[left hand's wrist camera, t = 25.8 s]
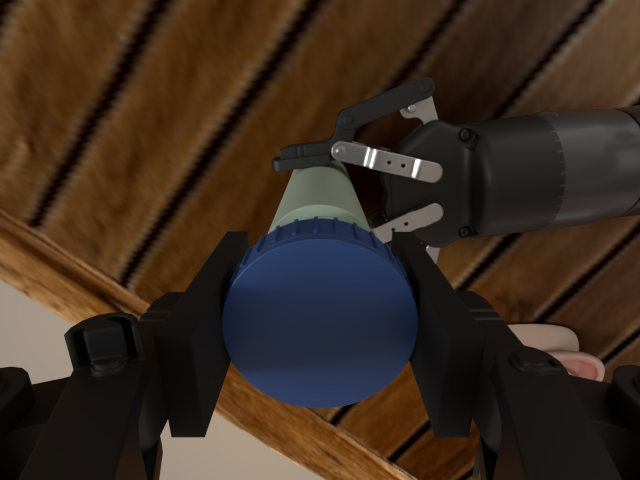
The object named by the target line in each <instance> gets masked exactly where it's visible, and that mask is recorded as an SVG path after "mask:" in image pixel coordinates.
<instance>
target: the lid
mask: <svg viewBox="0 0 640 480" xmlns="http://www.w3.org/2000/svg"><path fill="white" fill-rule="evenodd" d="M229 283H230V287H229V289H228V291H227V293H226V295H225V297H224V301H225V302H224V306H223V311H222V332H223V340H224V344H225V347H226V350H227V352H228V355H229V357H230V359H231V360H232V362H233V364H234V365H235V367H236V368H237V370H238V371H239V372H240V373H241V375H242V376H243V377H244V378H245V379H246V380H247V381H248V382H249V383H250V384H252V385H253V386H254V387H256V388H257V389H258V390H260V391H261V392H263V393H265V394H266V395H268V396H270V397H272V398H274V399H277V400H279V401H282V402H285V403H288V404H291V405H296V406H301V407H308V408H332V407H340V406H344V405H349V404H352V403H355V402H358V401H361V400H363V399H366V398H368V397H370V396H372V395H374V394H375V393H377V392H379V391H380V390H382V389H383V388H384V387H386V386H387V385H388V384H390V383H391V382H392V381H393V380H394V379H395V378H396V377H397V376H398V375H399V374H400V372H401V371H402V370H403V368H404V367H405V366H406V364H407V362H408V361H409V359H410V357H411V355H412V352H413V350H414V348H415V344H416V340H417V334H418V323H419V320H418V310H417V306H416V302H415V299H414V296H413V294H415V292H414V290H413V288H412V286H411V284H410V282H409V280H408V277H407V274H406V272H405V270H404V268H403V266H402V264H401V262H400V260H399V258H398V257H397V256H396V257H394V255H393V254H392V252H391V250H390V248H389V246H388V244H387V243H386V242H385V243H384V244H383V243H382V242H381V241H380V240H379V239H378V238H377V237H375V234H374V232H373V231H370V232H368V231H366V230H364V229H363V228H361V227H359V226H357V223H355V222H353V224H351V223H348V222H344V221H340V220H338V218H336V217H334V219H326V218H318V216H314V218H313V219H306V220H300V221H299V220H298V219H295V220H294V222H292V223H289V224H287V225H284V226H282V227H280V225H278V226H276V229H275V230H274V231H272V232H270V233H269V234H267V235H266V236H264V235H262V236H261V237H260V239H259V241H258V243H257V244H256V245H255V246H254V247H253V248H252V249H251V248H250V247H249V249H248V250H247V252H246V254H245V256H244V258H243V260H242V262H239V264H238V266H237V268H236V270H235V272H234V274H233V276H232V278H231V280H230V282H229Z"/></svg>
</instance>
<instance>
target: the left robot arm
mask: <svg viewBox="0 0 640 480" xmlns="http://www.w3.org/2000/svg"><path fill="white" fill-rule="evenodd" d="M248 249H249V238H248V232H227V233H226V234H225V236H224V237H223V239H222V240H221V241H220V243H219V244H218V246H217V247H216V249H215V250H214V251H213V253H212V254H211V256H210V257H209V258H208V260H207V261H206V263H205V264H204V265H203V267H202V268H201V270H200V271H199V272H198V274H197V275H196V277H195V278H194V280H193V281H192V282H191V284H190V285H189V287H188V288H187V289H186V291H185V292H168V293H167V294H165V295H163V296H162V297H160V298H158V299H157V300H155V301H154V302H153V303H152V305H151V306H150V307H149V308H148V309H147V311H146V313H144V314H143V315H142V317H141V318H140V319H139V322H138V319H137V318H136V317H135V316H133V315H132V314H128V313H123V312H119V313H107V314H102V315H97V316H94V317H91V318H89V319H86V320H83V321H81V322H80V323H78V324H76V325H75V326H73V327H71V328H70V329H69V330H68V331H67V332H66V333H65V335H64V336H65V340H66V344H67V348H68V351H69V355H70V358H71V362H72V366H73V369H74V370H73V372H72V374H71V376H70V377H66V378H62V379H57V380H52V381H47V382H42V383H38V384H33V385H32V384H31V381H30V378H29V375H28V372H26V371H25V370H24V369H23V368H17V367H5V368H0V480H159V476H160V469H161V461H162V454H163V451H162V443H161V438H160V435H161V433H162V431H163V429H164V426H165V424H166V422H167V420H169V426H170V431H171V437H205V435H206V432H207V429H208V426H209V423H210V420H211V417H212V414H213V411H214V409H215V406H216V403H217V400H218V397H219V394H220V391H221V388H222V385H223V382H224V379H225V376H226V374H227V371H228V368H229V365H230V362H231V359H230V357H229V355H228V352H227V350H226V347H225V344H224V340H223V332H222V311H223V306H224V302H225V301H224V297H225V295H226V293H227V291H228V289H229V287H230V283H229V282H230V280H231V278H232V276H233V274H234V272H235V270H236V268H237V266H238V264H239V262H242V260H243V258H244V256H245V254H246V252H247V250H248ZM391 252H392V254H393V255H394V257H396V256H397V257H398V258H399V260H400V262H401V264H402V266H403V268H404V270H405V272H406V274H407V277H408V280H409V282H410V284H411V286H412V288H413V290H414V292H415V294H413V296H414V299H415V302H416V306H417V310H418V320H419V323H418V334H417V340H416V344H415V348H414V350H413V352H412V355H411V357H410V359H409V361H410V364H411V367H412V370H413V373H414V376H415V379H416V382H417V384H418V387H419V390H420V393H421V396H422V399H423V402H424V405H425V408H426V411H427V414H428V417H429V419H430V422H431V425H432V428H433V431H434V434H435V437H469V433H470V427H471V422H472V418H473V420H474V422H475V424H476V426H477V428H478V430H479V432H480V438H479V443H478V448H477V454H476V459H475V464H474V469H473V478H477V479H478V475H479V470H480V476H481V480H640V366H634V365H625V366H619V367H617V368H616V369H615V370H614V371H613V373H612V376H611V379H610V382H609V383H606V382H602V381H597V380H592V379H587V378H582V377H577V376H573V375H569V373H568V371H567V369H566V368H565V367H564V366H563V365H562V363H561V362H560V361H559V360H557V359H556V358H554V357H553V356H552V355H550V354H549V353H546V352H544V351H542V350H539V349H537V348H534V347H530V346H525V345H523V343H522V342H521V341H520V340H519V339H518V337H517V336H516V335H515V334H514V333H513V331H512V330H511V329H510V328H509V327H508V325H507V324H506V323H505V322H504V321H503V320H501V317H500V316H499V315H498V313H497V312H494V309H493V307H492V306H491V305H490V304H489V303H488V301H487V300H486V299H484V298H483V297H481V296H479V295H478V294H476V293H474V292H473V291H455V290H454V289H453V288H452V286H451V285H450V283H449V282H448V281H447V279H446V278H445V276H444V275H443V274H442V272H441V271H440V269H439V268H438V266H437V265H436V264H435V262H434V261H433V259H432V258H431V257H430V255H429V254H428V252H427V251H426V250H425V248H424V247H423V245H422V244H421V243H420V241H419V240H418V238H417V237H416V235H415V234H414V233H413V232H392V241H391Z"/></svg>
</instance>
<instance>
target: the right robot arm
mask: <svg viewBox="0 0 640 480" xmlns="http://www.w3.org/2000/svg"><path fill="white" fill-rule="evenodd" d="M434 91H435V83H434V81H433V80H432V79H431V78H429V77H423V78H419V79H415V80H412V81H410V82H407V83H405V84H403V85H400V86H398V87H395V88H393V89H391V90H388V91H386V92H383V93H381V94H379V95H376V96H374V97H371V98H369V99H367V100H364V101H362V102H359V103H357V104H355V105H352V106H350V107H347V108H345V109H343V110H341V111H340V112H339V113H338V115H337V121H336V125H335V129H334V133H333V135H332V136H331V137H330V138H329V139H327V140H324V141H316V142H309V143H301V144H293V145H288V146H286V147H284V148H283V149H281V151H280V156H279V157H275V158H273V160H272V165H273V171H274V172H279V171H287V170H295V169H303V168H311V167H319V166H327V165H331V161H337V160H338V161H342V162H346V163H351V164H355V165H360V166H364V167H367V168H370V169H374V170H378V171H379V178H380V181H381V184H382V186H383V192H382V197H381V207H382V208H381V209H379V210H377V211H375V212H373V213H371V214H369V215H368V216H367V217H366V220H367V222H368V225H369V227H370V230H371V231H373V232H374V234H375V237H377V238H378V239H379V240H380V241H381V242H382V243H385V242H388V241H391V240H392V232H413V233H414V234H415V235H416V237H417V238H418V240H419V241H421V242H422V243H423V247H424V248H425V250H426V251H427V252H428V254H429V255H430V257H431V258H432V259H433V261H434V262H435V264H436V263H437V259H438V255H439V251H440V247H444V246H446V245H448V244H449V243H451V242H452V241H454V240H457V239H460V238H474V237H484V236H493V235H501V234H510V233H519V232H527V231H536V230H544V229H553V228H562V227H570V226H577V225H583V224H587V223H592V222H595V221H599V220H603V219H608V218H614V217H623V216H632V215H640V105H637V106H629V107H622V108H614V109H602V110H592V109H575V110H565V111H557V112H552V111H543V112H538V113H535V114H534V115H525V116H518V117H510V118H502V119H494V120H487V121H479V122H471V123H463V124H451V123H448V122H446V121H444V120H438V117H437V113H436V110H435V106H434V103H433V99H432V95H433V93H434ZM396 111H397V112H398V114H399V115H400V116H401V117H403V118H408V119H409V118H416V119H418V120H419V122H420V125H419V126H417V127H416V128H415V129H414V130H413V131H412V132H411V133H410V134H409V135H407V136H406V137H405V138H404V139H403V140H402V141H401V142H400V143H399V144H398V145H396V146H395V147H394V148H393V149H389V148H385V147H380V146H376V145H371V144H365V143H360V142H356V141H353V137H354V133H355V129H356V127H359V126H361V125H364V124H366V123H369V122H371V121H374V120H376V119H378V118H381V117H383V116H386V115H388V114H391V113H393V112H396ZM392 228H393V229H392Z"/></svg>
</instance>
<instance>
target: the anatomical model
mask: <svg viewBox="0 0 640 480" xmlns="http://www.w3.org/2000/svg"><path fill="white" fill-rule="evenodd" d="M508 327H509V328H510V329H511V330H512V331H513V333H514V334H515V335H516V336H517V337H518V339H519V340H520V341H521V342H522V343H523V345H525V346H530V347H534V348H537V349H539V350H542V351H544V352H546V353H549V354H550V355H552V356H553V357H554V358H556V359H557V360H559V361H560V362H561V363H562V365H563V366H564V367H565V368H566V369H567V371H568V373H569V375H573V376H577V377H582V378H587V379H592V380H597V381H602V380H603V378H604V373H605V369H604V365H603V363H602V362H601V361H600V360H599V359H598V358H596V357H595V356H593V355H590V354H588V353H584V352H579V344H578V339H577V337H576V335H575V333H574V332H573V331H572V330H570V329H568V328H565V327H562V326H556V325H547V324H513V325H508Z"/></svg>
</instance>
